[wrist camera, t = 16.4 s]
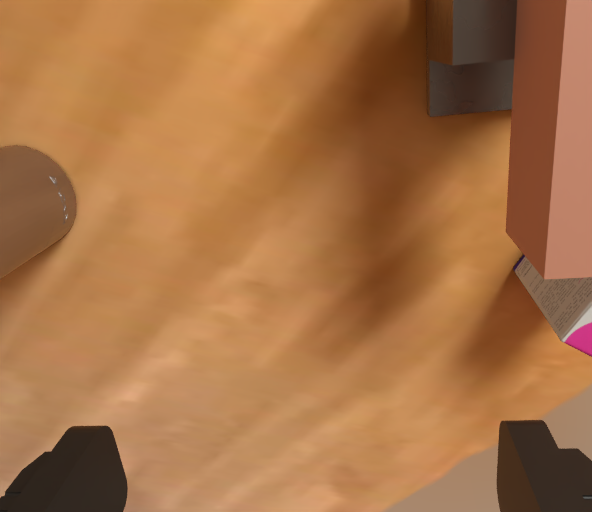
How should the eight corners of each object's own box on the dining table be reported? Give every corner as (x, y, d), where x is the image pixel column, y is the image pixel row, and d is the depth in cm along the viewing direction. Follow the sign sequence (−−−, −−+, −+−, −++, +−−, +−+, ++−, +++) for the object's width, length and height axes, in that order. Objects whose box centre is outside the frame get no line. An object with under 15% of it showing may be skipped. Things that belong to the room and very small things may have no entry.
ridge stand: (427, 114, 40) (452, 138, 30) (425, -64, 36) (453, -105, 26) (563, 101, 39) (636, 122, 29) (578, -85, 35) (671, -137, 25)
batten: (505, 231, 32) (544, 279, 26) (530, -274, 23) (598, -394, 17) (565, 228, 32) (620, 275, 25) (614, -289, 23) (717, -419, 16)
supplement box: (509, 270, 45) (558, 341, 34) (553, 212, 42) (619, 269, 32) (566, 300, 45) (631, 379, 35) (612, 244, 43) (697, 310, 32)
